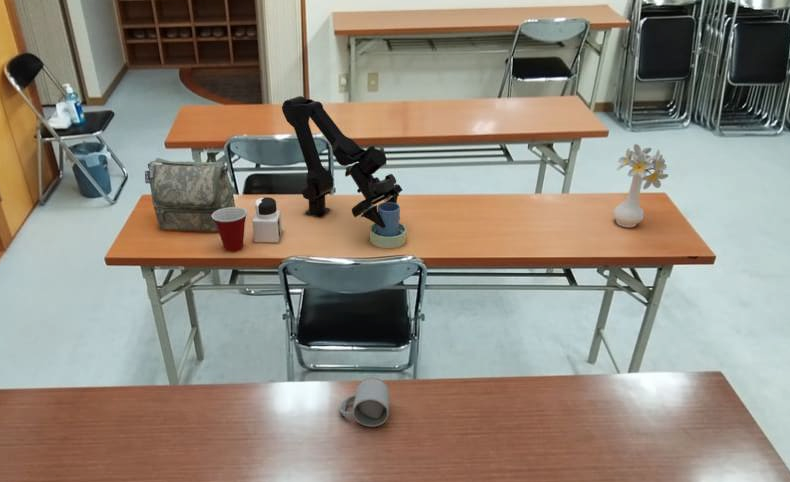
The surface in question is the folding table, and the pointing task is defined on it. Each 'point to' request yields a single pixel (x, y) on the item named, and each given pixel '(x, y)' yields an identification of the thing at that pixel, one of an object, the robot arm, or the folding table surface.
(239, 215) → the plastic cup
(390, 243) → the bowl
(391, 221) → the tumbler
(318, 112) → the robot arm
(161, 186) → the lunch bag
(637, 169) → the flower vase
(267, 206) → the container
